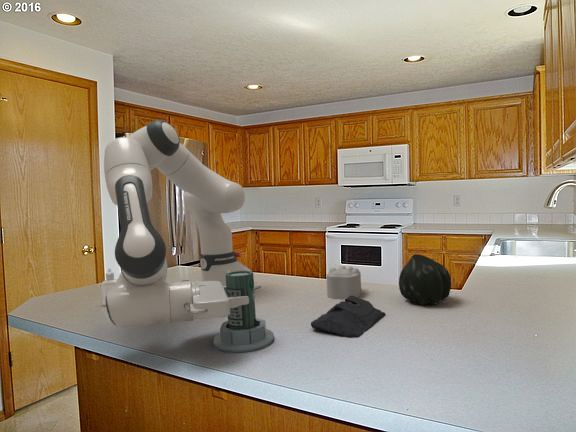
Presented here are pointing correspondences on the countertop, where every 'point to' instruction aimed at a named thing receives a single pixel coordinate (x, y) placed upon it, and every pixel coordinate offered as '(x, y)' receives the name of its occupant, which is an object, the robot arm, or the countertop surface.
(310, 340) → the countertop surface
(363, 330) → the dark slate chunk
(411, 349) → the countertop surface
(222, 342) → the collar seat
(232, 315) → the can
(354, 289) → the lumpy-topped squat cylinder
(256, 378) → the countertop surface
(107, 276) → the eye dropper bottle
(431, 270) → the squash
